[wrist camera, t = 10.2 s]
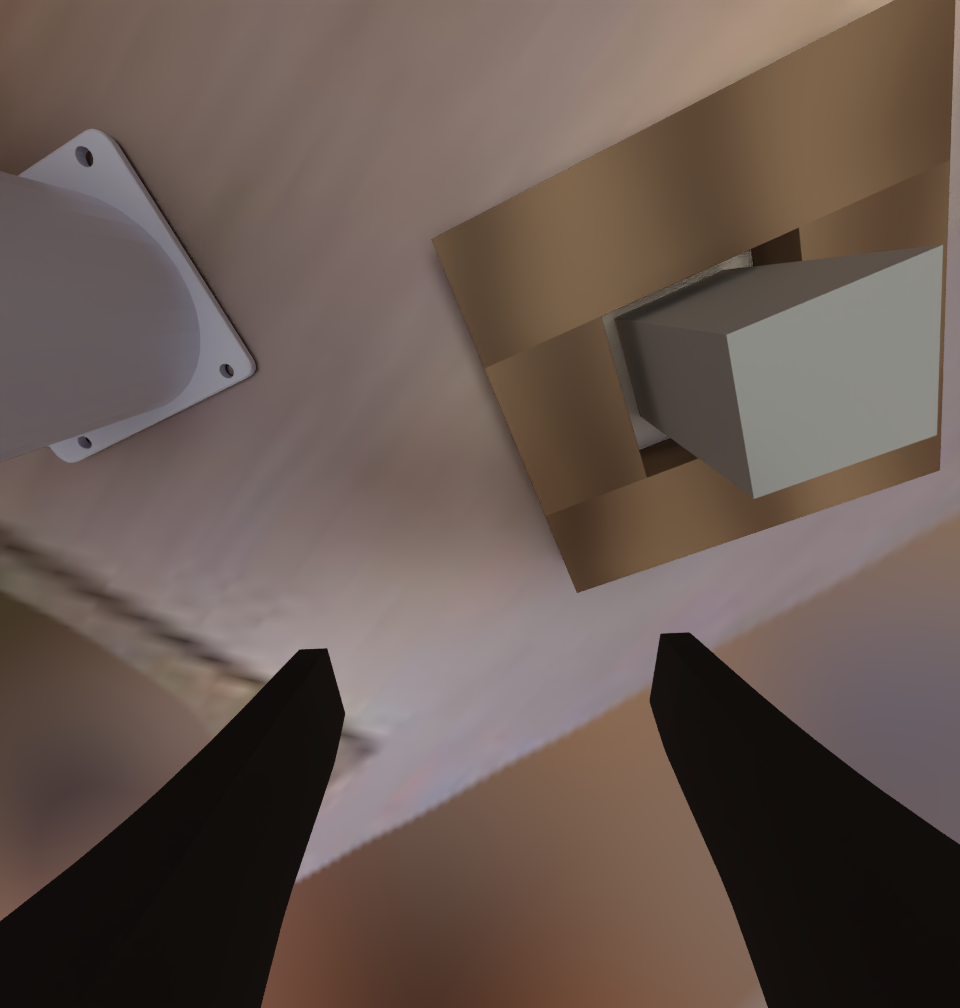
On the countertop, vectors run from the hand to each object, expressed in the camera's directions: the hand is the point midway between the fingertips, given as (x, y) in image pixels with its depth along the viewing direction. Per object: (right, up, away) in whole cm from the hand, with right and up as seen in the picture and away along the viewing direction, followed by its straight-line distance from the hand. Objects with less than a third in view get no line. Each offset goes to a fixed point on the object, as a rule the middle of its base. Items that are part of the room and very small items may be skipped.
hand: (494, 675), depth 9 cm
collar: (+7, +9, +7) cm, 14 cm away
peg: (+7, +10, +7) cm, 14 cm away
